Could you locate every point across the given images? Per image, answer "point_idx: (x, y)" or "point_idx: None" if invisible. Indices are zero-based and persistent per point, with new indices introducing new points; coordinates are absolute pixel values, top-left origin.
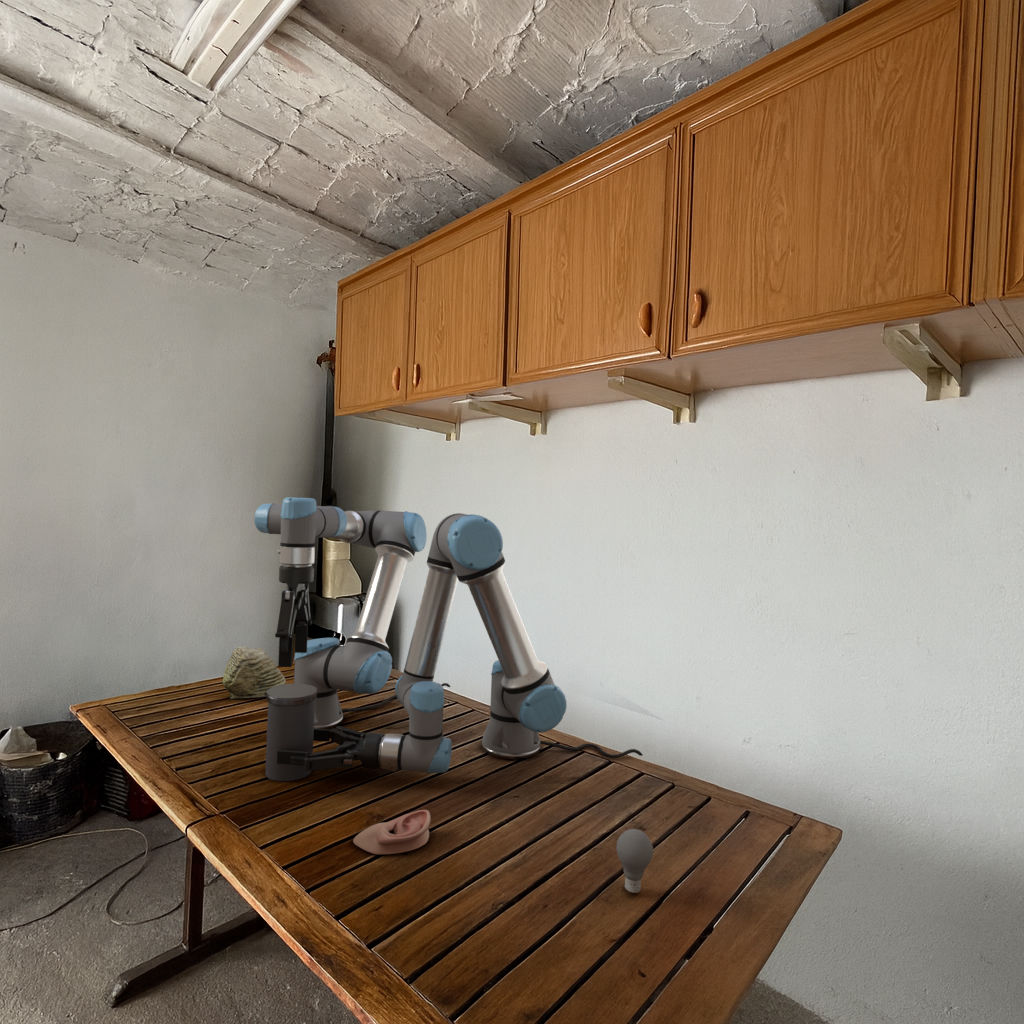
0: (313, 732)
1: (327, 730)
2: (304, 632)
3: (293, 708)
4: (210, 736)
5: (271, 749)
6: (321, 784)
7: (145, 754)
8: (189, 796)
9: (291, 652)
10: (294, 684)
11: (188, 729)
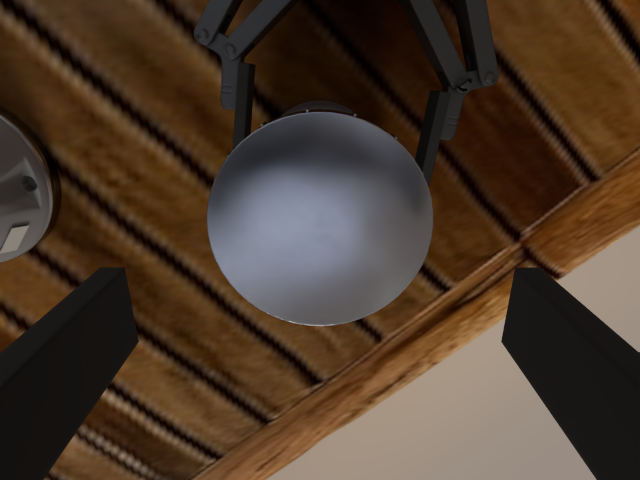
0: (309, 107)
1: (248, 69)
2: (24, 395)
3: None
4: (140, 386)
5: None
6: (395, 53)
7: (251, 454)
8: (438, 319)
9: (605, 326)
10: (224, 243)
11: (112, 436)
